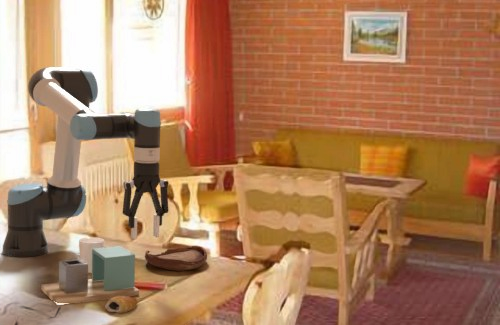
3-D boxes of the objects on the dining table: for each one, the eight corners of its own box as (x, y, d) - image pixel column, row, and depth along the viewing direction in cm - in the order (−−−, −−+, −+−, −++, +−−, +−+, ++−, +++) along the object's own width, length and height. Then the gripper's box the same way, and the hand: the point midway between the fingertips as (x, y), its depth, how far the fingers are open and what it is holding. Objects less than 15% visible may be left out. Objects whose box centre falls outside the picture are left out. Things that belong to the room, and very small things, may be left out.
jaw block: (59, 287, 221) (59, 260, 220) (80, 285, 224) (80, 258, 223) (65, 294, 216) (66, 266, 215) (87, 291, 219) (88, 264, 218)
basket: (172, 253, 273) (172, 239, 272) (220, 262, 263) (220, 248, 262) (132, 266, 253) (133, 252, 252) (182, 277, 243) (183, 262, 243)
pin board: (41, 289, 224) (41, 274, 223) (118, 280, 236) (119, 266, 235) (57, 305, 210) (57, 289, 209) (138, 295, 222) (139, 280, 222)
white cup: (98, 274, 241) (98, 243, 240) (74, 272, 243) (74, 241, 241) (107, 268, 249) (108, 238, 247) (84, 266, 250) (85, 236, 249)
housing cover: (91, 280, 229) (92, 248, 227) (120, 277, 233) (120, 245, 232) (105, 290, 219) (105, 257, 218) (134, 287, 224) (135, 254, 222)
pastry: (123, 302, 216) (123, 289, 216) (143, 306, 213) (143, 293, 213) (103, 311, 208) (103, 297, 207) (123, 315, 205) (123, 302, 204)
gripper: (120, 164, 218) (119, 243, 221) (181, 161, 228) (179, 237, 231) (111, 160, 225) (109, 237, 228) (171, 158, 235) (169, 232, 238)
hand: (145, 237), depth 230 cm, fingers open, 6 cm apart
